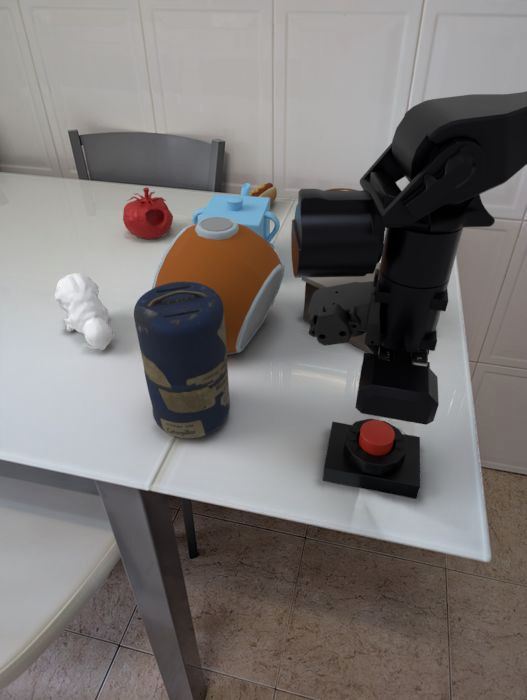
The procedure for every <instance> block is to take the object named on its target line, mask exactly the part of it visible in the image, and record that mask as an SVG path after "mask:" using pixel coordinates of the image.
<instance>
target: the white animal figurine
mask: <svg viewBox="0 0 527 700" xmlns="http://www.w3.org/2000/svg"><path fill="white" fill-rule="evenodd" d="M99 293H100V290H99V286H98V284H97V283H96V282H94V281H93V280H92V278H91V277H90V276H89V275H87V274H85V273H79V272H72V273H69V274H67V275H66V276H64V277H62V278H61V279H59V281H58V282H57V285H56V289H55V292H54V299H55V301H56V302H57V305H58V306H59V308H60V309H61V310H62V311H64V312H65V315H66V317H65V318H63V321H64V324H65V325H66V331H68V332H73V331H74V330H75V331H76V332H77V333H80V334H82V335H83V336H84V338H85V340H86V341H87V342H86V343H83V345H84V346H86V347H88V348H89V349H90V350H91V349H96V350H97V349H98V350H100V351H105V350H106V348H107V346H108V345H109V344H110V343H112V342H113V338H114V336H115V335H116V331H115V332H114V333H113V331H112V327H111V326H110V324H109V323H108V322H109V316H110V315H109V310H108V308H107V307H106V305H104V304H103V302H102V301H101V299H100V298H99Z"/></svg>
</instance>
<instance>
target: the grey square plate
mask: <svg viewBox="0 0 527 700" xmlns="http://www.w3.org/2000/svg"><path fill="white" fill-rule="evenodd" d="M380 264H381V262H379V263H377V265H376V268H375V270H376V269H379V266H380ZM374 276H375V271H374V273H373V274H366V275H365V276H360V277H312V278H301V281H302V282H305V283H306V282H307V283H309V284H311V285H313V286H315V287H318V288H320V289H321V288H325V287H330V286H335V285H341V284H346V283H352V282H369V281H374Z"/></svg>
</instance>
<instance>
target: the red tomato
mask: <svg viewBox="0 0 527 700" xmlns="http://www.w3.org/2000/svg"><path fill="white" fill-rule="evenodd" d="M142 191H143V193H144V195H140V194H139V193H134V195H137V196H138V197H137V196H132V197H130V198H129V199H127V200H126V202H128V201H129V202H128V203H126V204H125V205H124V207H123V213H122V222H123V224H124V227H125V228H126V229H127V231H128V232H129V233H130V234H131V235H132V236H135V237H137V238H140V239H144V240H145V239H146V240H156V239H160V238H162V237H164V236H165V235H166V234H168V233H169V231H170V230H171V228H172V224H173V222H174V215H173V213H172V212H171V209H169V207H168V205H167V203H166V201H167V199H164V198H163V197H161V196H155V197H152V195H153V194H155V190H154V191H151V192H150V188H149V187H144V188H142ZM149 192H150V193H149ZM139 197H140V198H139ZM131 200H132V201H131Z"/></svg>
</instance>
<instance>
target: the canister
mask: <svg viewBox="0 0 527 700" xmlns="http://www.w3.org/2000/svg"><path fill="white" fill-rule="evenodd" d="M133 320H134V325H135V330H136V335H137V340H138V345H139V350H140V355H141V360H142V365H143V372H144V378H145V382H146V387H147V391H148V394H149V399H150V403H151V407H152V417H153V419H154V422H155V423H156V424H157V426H158V427H159V429H161V430H162V431H163V432H164V433H166V434H168V435H171V436H172V437H176V438H181V439H187V440H188V439H190V440H191V439H197V438H201V437H204V436H207V435H209V434H212V433H213V432H214V431H216V430H217V429H218V428H220V427H221V426H222V425H223V424H224V422H225V421H226V419H227V418H228V415H229V413H230V404H231V403H230V386H229V371H228V355H227V346H226V331H225V318H224V308H223V303H222V300H221V298H220V296H219V295H218V294H217V293H216V292H215V291H214V290H213V289H211V288H210V287H208V286H205V285H202V284H200V283H195V282H185V281H183V282H172V283H167V284H164V285H160V286H157V287H155V288H153V289H152V288H151V289H150V290H148V291H146V292H144V293H143V294H142V295H141V296H140V297H139V298H138V300H137V301H136V303H135V305H134V308H133Z"/></svg>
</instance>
